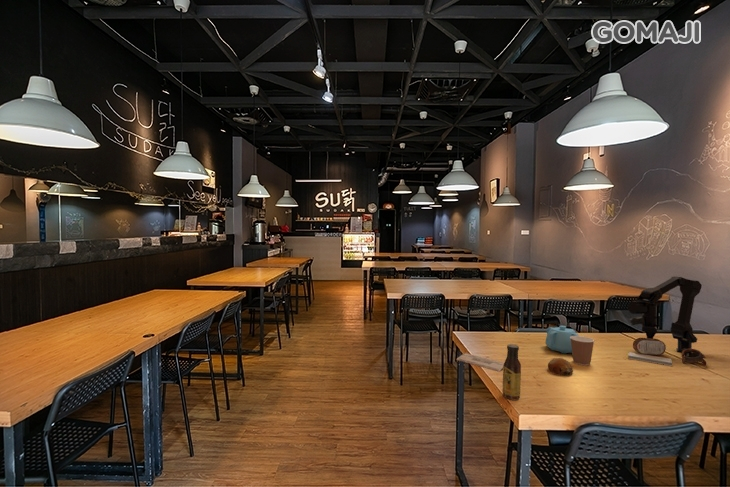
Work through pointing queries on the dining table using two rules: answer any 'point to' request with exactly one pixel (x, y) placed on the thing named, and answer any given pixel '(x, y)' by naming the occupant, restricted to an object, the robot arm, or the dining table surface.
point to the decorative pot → (560, 339)
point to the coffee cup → (582, 349)
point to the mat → (650, 358)
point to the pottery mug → (692, 356)
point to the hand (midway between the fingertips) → (649, 342)
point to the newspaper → (481, 362)
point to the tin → (649, 346)
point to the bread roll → (560, 367)
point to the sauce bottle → (512, 373)
